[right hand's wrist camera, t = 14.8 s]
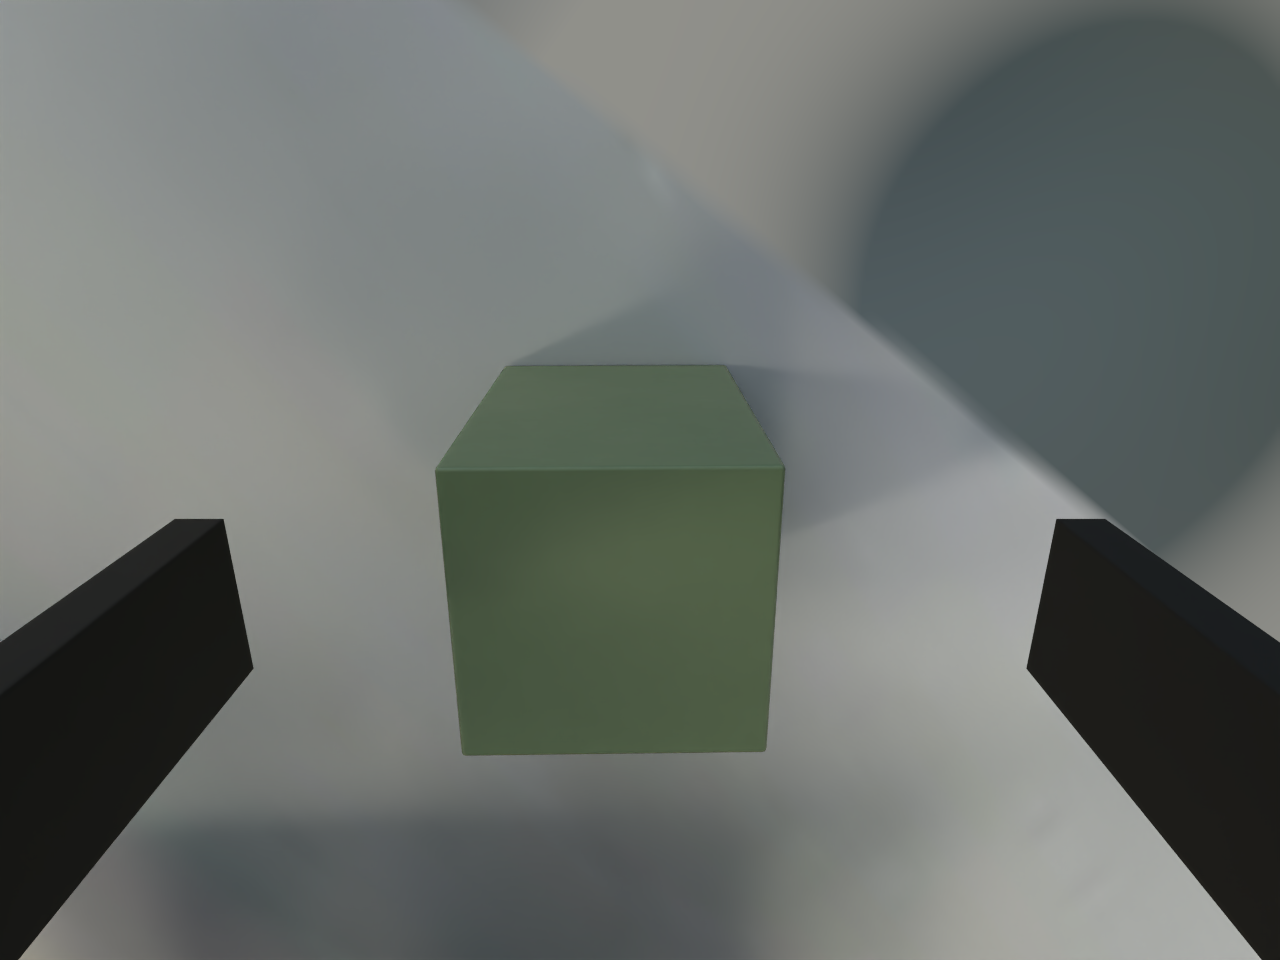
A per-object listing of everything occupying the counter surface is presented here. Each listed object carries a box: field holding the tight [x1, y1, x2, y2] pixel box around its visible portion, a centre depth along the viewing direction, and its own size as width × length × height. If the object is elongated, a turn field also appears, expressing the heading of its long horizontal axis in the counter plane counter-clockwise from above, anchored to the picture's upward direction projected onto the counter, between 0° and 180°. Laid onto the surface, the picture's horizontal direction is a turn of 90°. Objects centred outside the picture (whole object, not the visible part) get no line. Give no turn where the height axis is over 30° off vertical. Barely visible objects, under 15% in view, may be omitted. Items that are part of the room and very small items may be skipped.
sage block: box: [435, 365, 785, 756], centre depth 15 cm, size 5×5×7 cm
